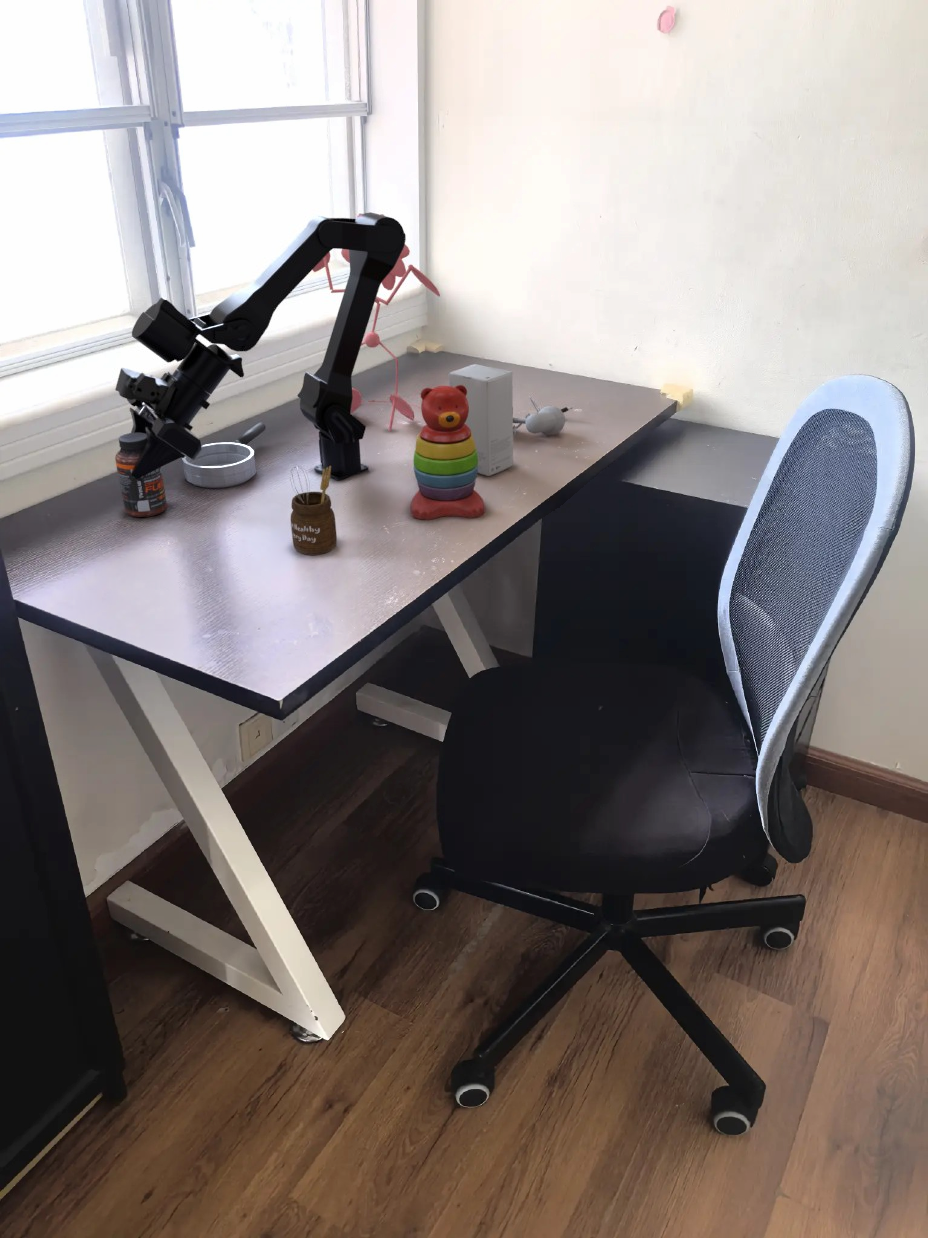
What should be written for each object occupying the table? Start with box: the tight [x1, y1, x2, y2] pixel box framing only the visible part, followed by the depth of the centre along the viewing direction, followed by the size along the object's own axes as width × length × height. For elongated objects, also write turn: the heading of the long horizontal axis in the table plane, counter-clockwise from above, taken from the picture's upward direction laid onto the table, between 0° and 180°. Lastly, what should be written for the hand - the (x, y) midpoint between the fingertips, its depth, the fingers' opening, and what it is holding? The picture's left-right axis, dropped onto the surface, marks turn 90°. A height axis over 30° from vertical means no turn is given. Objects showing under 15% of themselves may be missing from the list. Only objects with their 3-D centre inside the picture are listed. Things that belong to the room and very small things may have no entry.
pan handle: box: [229, 422, 267, 451], centre depth 155 cm, size 11×2×2 cm, turn 166°
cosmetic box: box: [448, 363, 514, 477], centre depth 146 cm, size 8×7×16 cm
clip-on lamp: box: [513, 395, 573, 437], centre depth 164 cm, size 12×6×18 cm
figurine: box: [312, 213, 441, 436], centre depth 163 cm, size 15×26×35 cm, turn 66°
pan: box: [181, 442, 257, 489], centre depth 146 cm, size 11×11×4 cm
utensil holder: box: [289, 465, 338, 556], centre depth 122 cm, size 6×6×12 cm
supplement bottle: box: [114, 432, 168, 518], centre depth 133 cm, size 6×6×11 cm
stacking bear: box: [410, 385, 486, 520], centre depth 132 cm, size 11×10×18 cm
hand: (128, 469), depth 132 cm, fingers closed on supplement bottle, 6 cm apart
